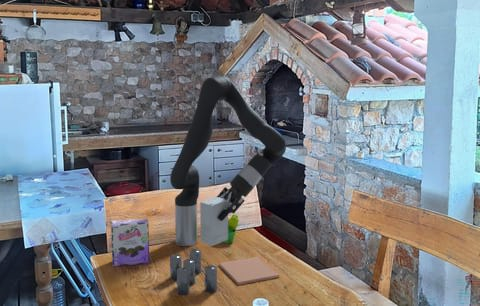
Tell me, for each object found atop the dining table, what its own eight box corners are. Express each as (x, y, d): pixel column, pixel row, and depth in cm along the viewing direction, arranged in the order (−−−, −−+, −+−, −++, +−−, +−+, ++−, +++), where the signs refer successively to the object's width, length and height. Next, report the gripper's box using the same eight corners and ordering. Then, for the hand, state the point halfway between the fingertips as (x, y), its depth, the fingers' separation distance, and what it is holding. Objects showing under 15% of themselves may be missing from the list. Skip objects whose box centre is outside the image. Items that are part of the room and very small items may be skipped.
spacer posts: (164, 274, 172) (164, 253, 171) (199, 268, 178) (198, 248, 176) (181, 298, 154) (180, 275, 153) (218, 291, 159) (218, 269, 158)
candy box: (112, 267, 178) (110, 224, 176) (112, 261, 184) (110, 220, 181) (149, 263, 182) (148, 222, 179) (148, 257, 188) (147, 217, 185)
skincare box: (216, 236, 172) (216, 196, 169) (229, 240, 168) (229, 199, 165) (199, 242, 166) (199, 201, 163) (211, 246, 162) (211, 204, 159)
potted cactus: (219, 235, 214) (219, 210, 212) (239, 235, 214) (239, 211, 212) (217, 244, 203) (217, 218, 201) (238, 244, 203) (238, 219, 201)
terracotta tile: (219, 265, 181) (219, 263, 181) (257, 259, 187) (257, 256, 187) (238, 285, 164) (238, 282, 164) (279, 277, 171) (279, 274, 171)
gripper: (231, 169, 173) (201, 204, 171) (247, 178, 160) (215, 215, 158) (244, 182, 176) (215, 216, 174) (261, 191, 163) (230, 228, 161)
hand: (215, 216), depth 166 cm, fingers closed on skincare box, 7 cm apart
